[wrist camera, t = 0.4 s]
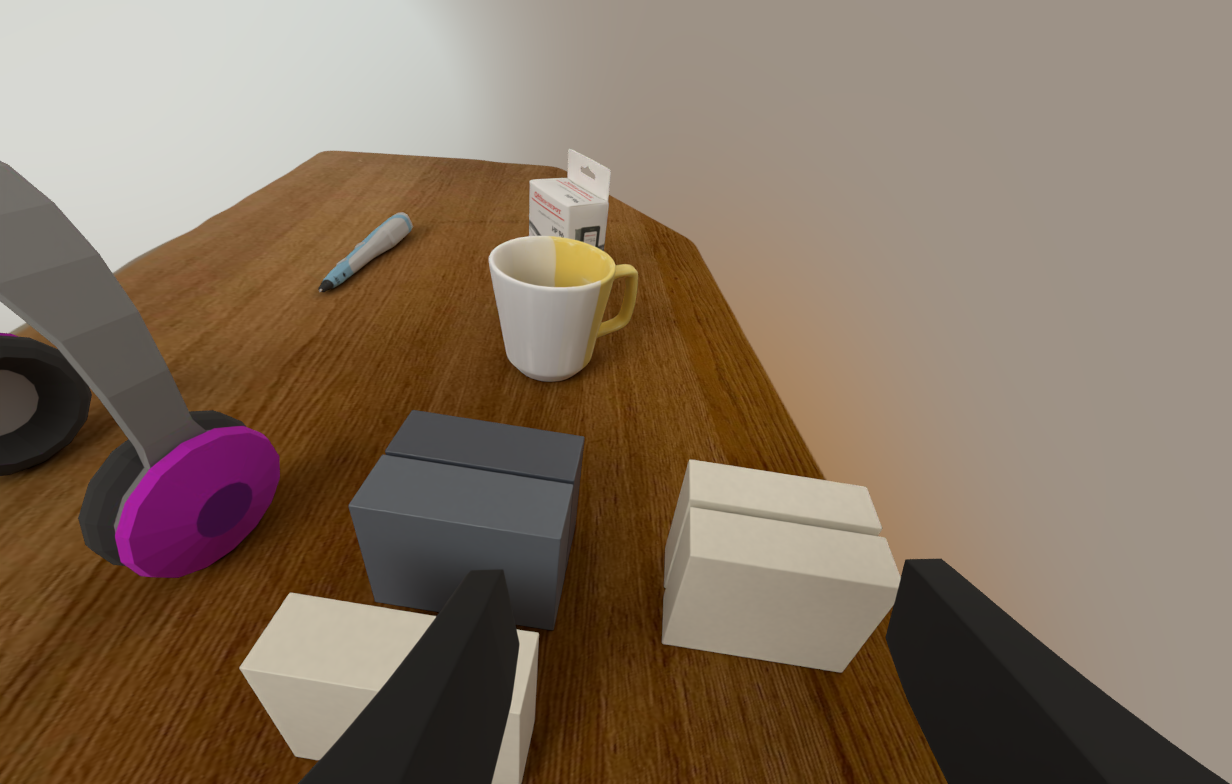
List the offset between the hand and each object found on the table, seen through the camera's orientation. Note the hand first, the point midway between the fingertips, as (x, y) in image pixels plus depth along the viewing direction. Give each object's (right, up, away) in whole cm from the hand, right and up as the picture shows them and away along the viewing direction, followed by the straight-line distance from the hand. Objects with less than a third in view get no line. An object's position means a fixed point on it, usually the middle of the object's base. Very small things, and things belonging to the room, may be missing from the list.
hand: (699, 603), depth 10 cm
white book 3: (+6, -10, +21) cm, 24 cm away
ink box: (-8, +15, +52) cm, 54 cm away
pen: (-30, +19, +53) cm, 64 cm away
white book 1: (-11, -12, +15) cm, 22 cm away
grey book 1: (-9, -5, +24) cm, 26 cm away
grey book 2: (-10, -7, +21) cm, 24 cm away
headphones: (-32, -3, +23) cm, 40 cm away
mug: (-6, +6, +40) cm, 42 cm away
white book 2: (+6, -8, +23) cm, 26 cm away
